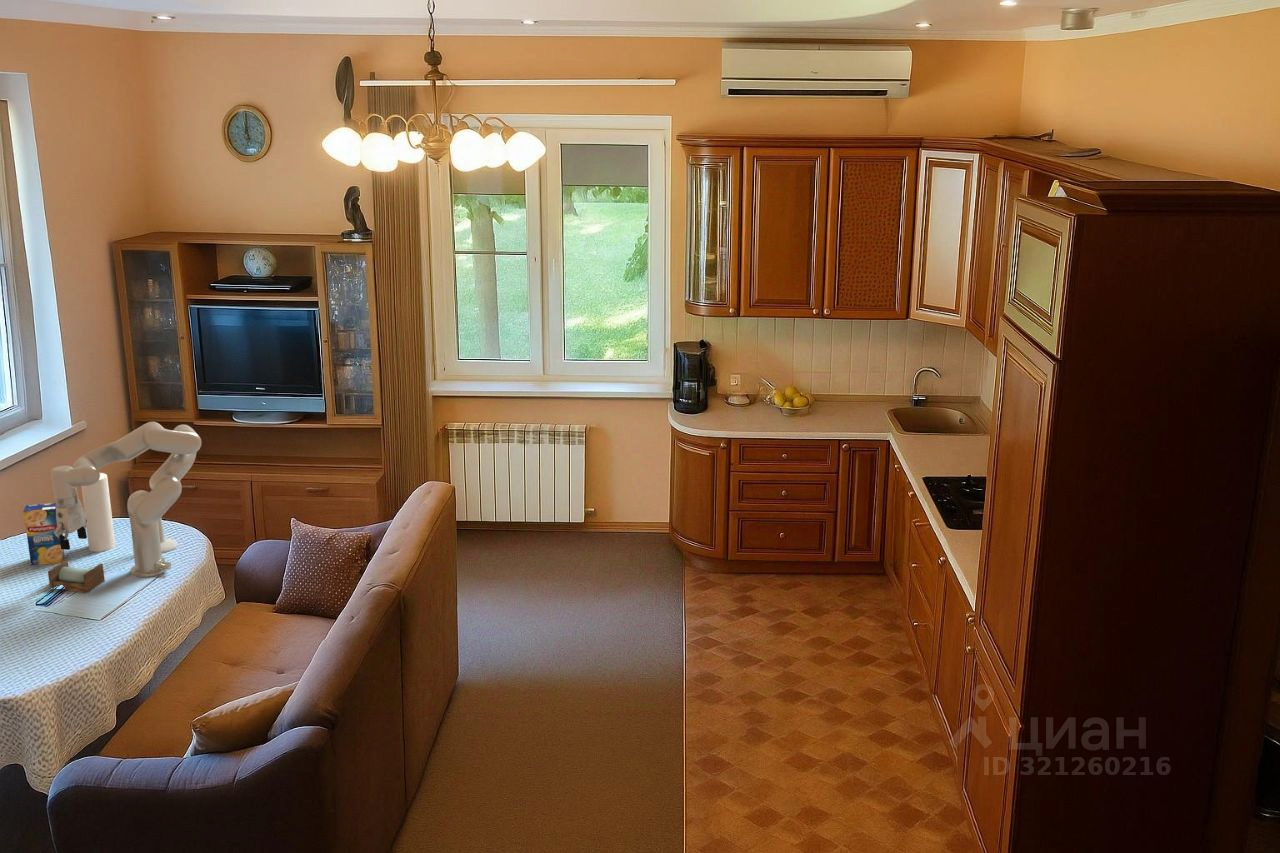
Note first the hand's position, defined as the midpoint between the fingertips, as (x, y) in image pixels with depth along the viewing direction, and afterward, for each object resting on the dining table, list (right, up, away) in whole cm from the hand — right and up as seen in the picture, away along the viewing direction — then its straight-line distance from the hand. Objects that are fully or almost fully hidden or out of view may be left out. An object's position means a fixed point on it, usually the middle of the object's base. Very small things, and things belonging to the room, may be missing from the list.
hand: (74, 543), depth 405 cm
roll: (-1, -15, +4) cm, 15 cm away
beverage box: (-22, -9, +24) cm, 34 cm away
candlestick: (+15, -6, +39) cm, 42 cm away
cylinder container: (-8, -5, +37) cm, 39 cm away
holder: (-1, -16, +4) cm, 16 cm away
